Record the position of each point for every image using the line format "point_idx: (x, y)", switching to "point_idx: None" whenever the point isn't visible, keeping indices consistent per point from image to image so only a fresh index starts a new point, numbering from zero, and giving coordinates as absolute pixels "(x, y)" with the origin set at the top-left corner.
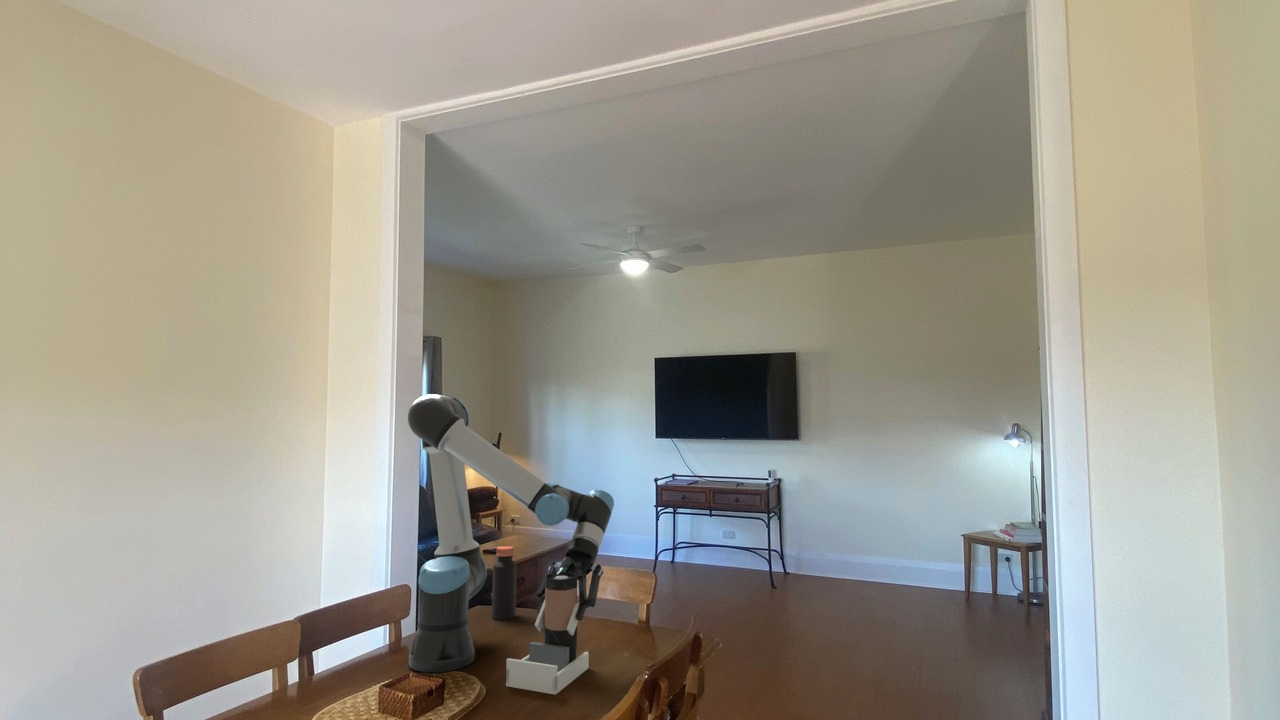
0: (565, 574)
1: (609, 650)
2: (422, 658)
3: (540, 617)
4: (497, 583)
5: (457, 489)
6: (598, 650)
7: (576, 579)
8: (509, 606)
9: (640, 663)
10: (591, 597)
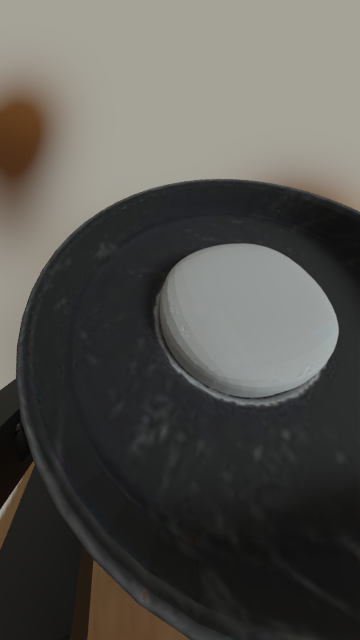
0: (339, 580)
1: (97, 622)
2: None
3: None
4: None
5: None
6: (134, 605)
7: (53, 308)
8: None
9: (7, 506)
10: (14, 386)
